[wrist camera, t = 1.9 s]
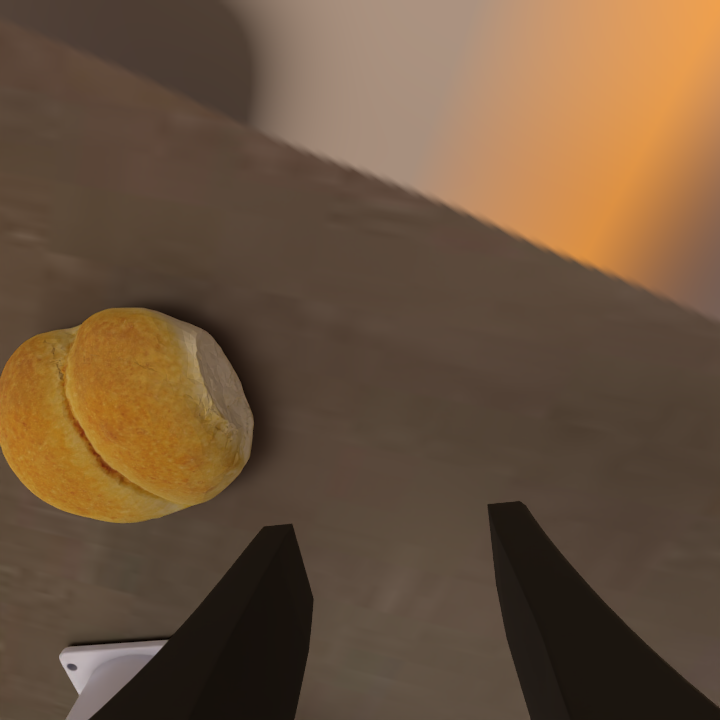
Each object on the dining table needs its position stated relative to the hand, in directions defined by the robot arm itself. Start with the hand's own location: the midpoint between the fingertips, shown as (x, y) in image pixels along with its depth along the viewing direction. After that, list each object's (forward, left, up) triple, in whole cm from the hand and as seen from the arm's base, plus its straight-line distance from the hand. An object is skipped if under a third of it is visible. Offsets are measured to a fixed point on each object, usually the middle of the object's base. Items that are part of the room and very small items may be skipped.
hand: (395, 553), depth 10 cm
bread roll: (0, +10, -10) cm, 14 cm away
